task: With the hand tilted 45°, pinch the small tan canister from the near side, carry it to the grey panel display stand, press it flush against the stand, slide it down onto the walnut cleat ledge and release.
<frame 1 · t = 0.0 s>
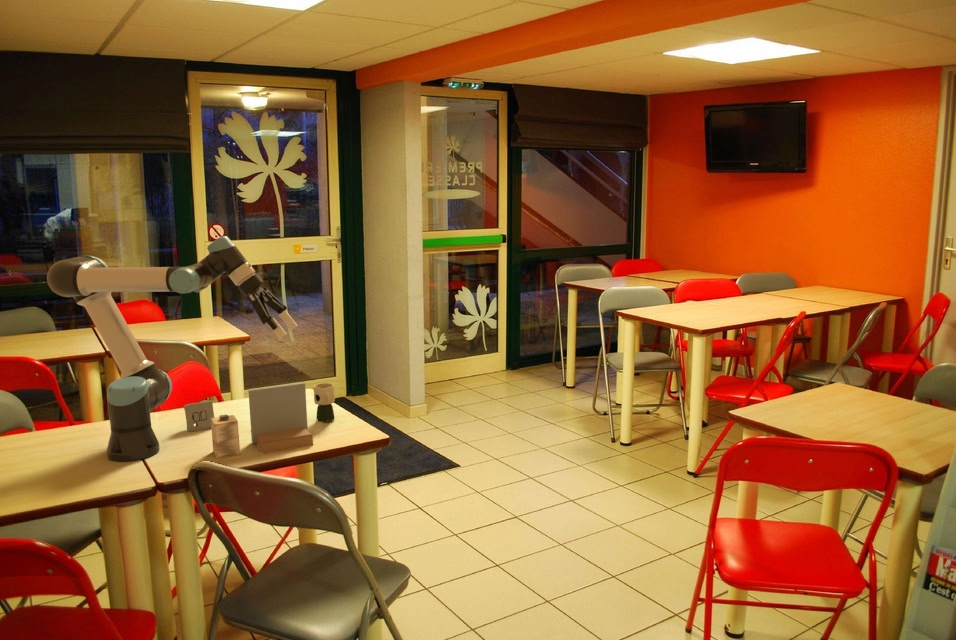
hand: (288, 332, 251), 36 cm above the table, tool tilted 35°, fingers open, 13 cm apart
character mug: (325, 421, 276), on the table
electrical switch: (199, 428, 269), on the table
tan canister: (226, 453, 245), on the table
grey panel display stand: (284, 444, 252), on the table
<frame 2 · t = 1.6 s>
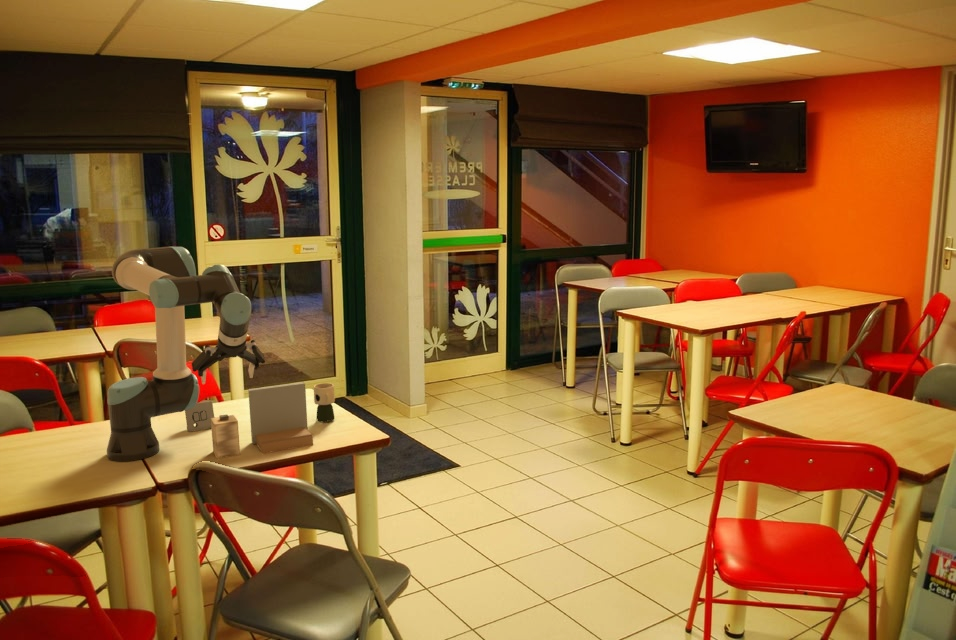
hand: (226, 377, 231), 27 cm above the table, tool tilted 45°, fingers open, 13 cm apart
nothing on the table moved.
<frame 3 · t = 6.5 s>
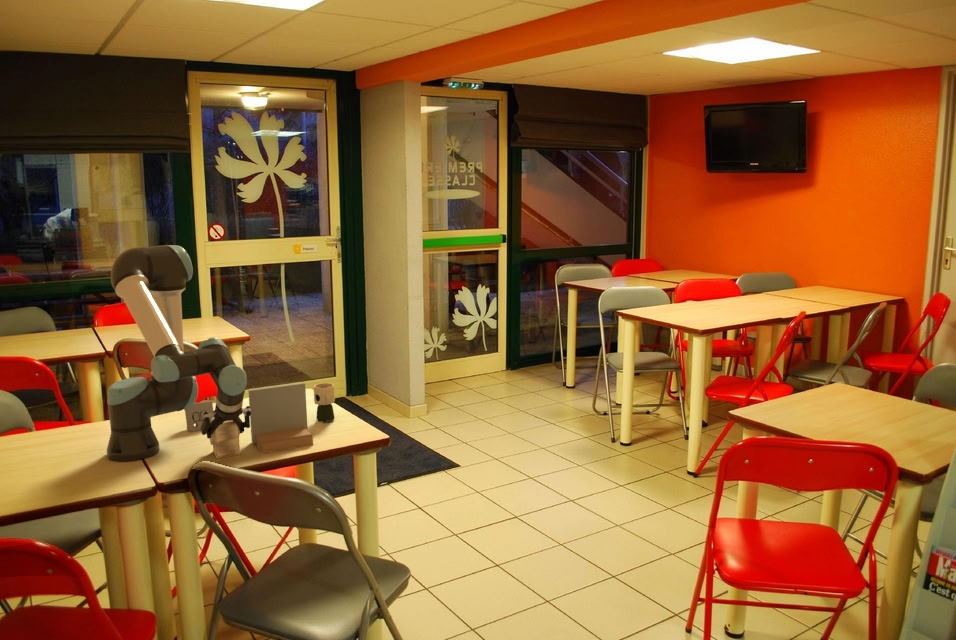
hand: (223, 438, 247), 4 cm above the table, tool tilted 45°, fingers closed on tan canister, 7 cm apart
tan canister: (226, 452, 245), on the table, touching gripper
everything else where it was.
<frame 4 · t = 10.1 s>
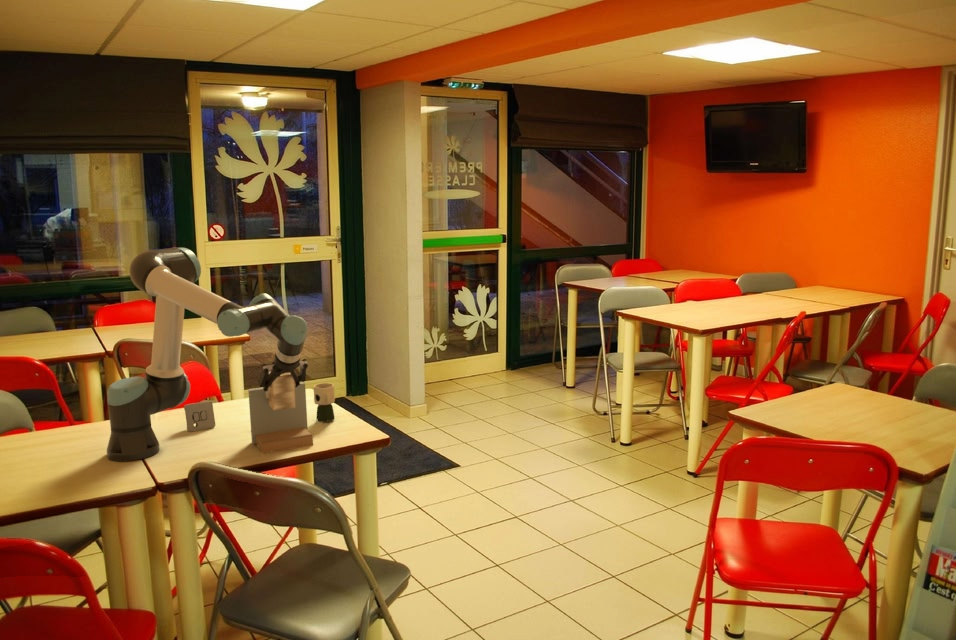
hand: (279, 392, 252), 16 cm above the table, tool tilted 45°, fingers closed on tan canister, grey panel display stand, 7 cm apart
tan canister: (282, 406, 250), point 13 cm above the table, touching gripper
everything else where it was.
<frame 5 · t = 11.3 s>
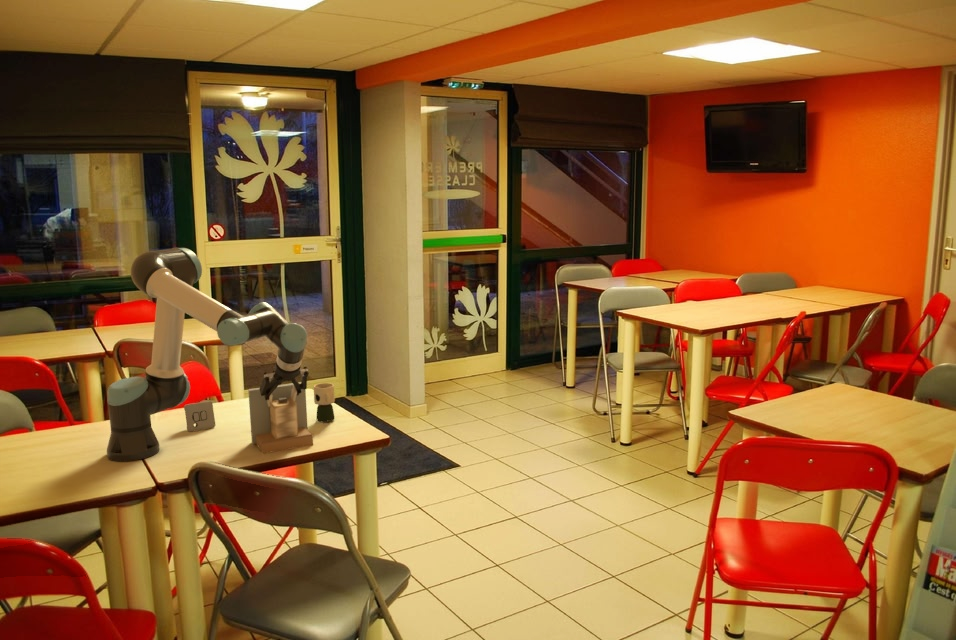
hand: (280, 401, 253), 13 cm above the table, tool tilted 45°, fingers open, 7 cm apart
tan canister: (284, 434, 252), point 3 cm above the table, touching gripper, grey panel display stand
everything else where it was.
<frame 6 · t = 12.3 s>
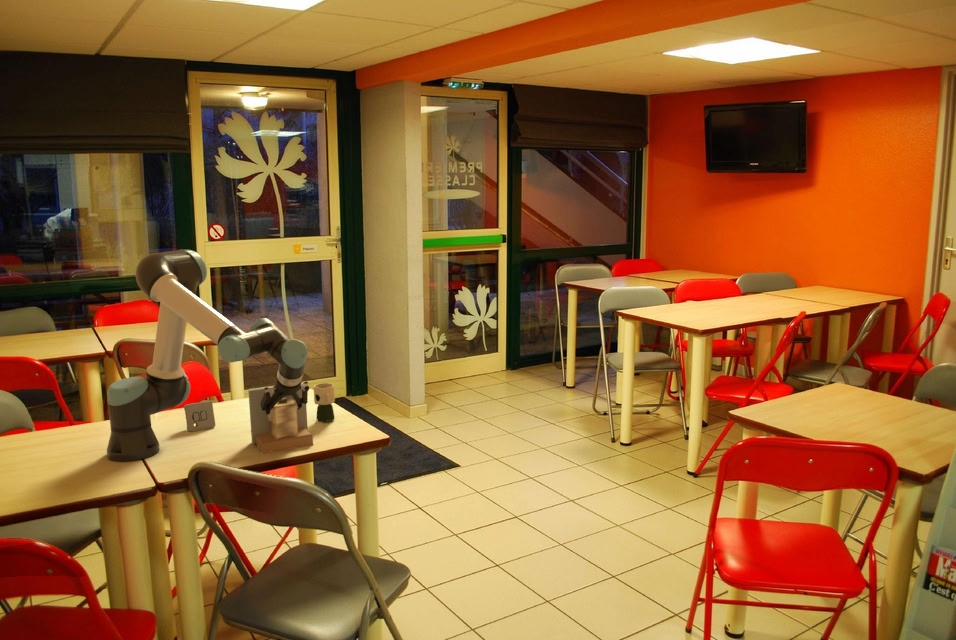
hand: (281, 415, 254), 9 cm above the table, tool tilted 45°, fingers closed on tan canister, 7 cm apart
tan canister: (284, 434, 252), point 3 cm above the table, touching gripper, grey panel display stand
everything else where it was.
when the fingers open (8 cm above the table, at t = 12.7 s): tan canister stays where it is, resting on grey panel display stand.
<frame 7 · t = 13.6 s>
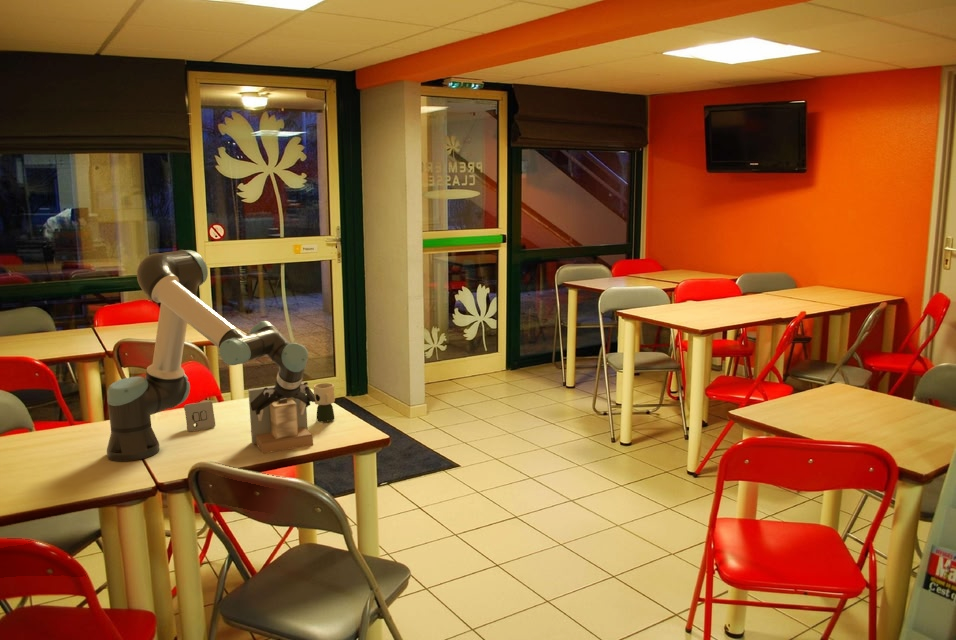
hand: (280, 414, 253), 9 cm above the table, tool tilted 45°, fingers open, 13 cm apart
tan canister: (284, 434, 252), point 3 cm above the table, touching grey panel display stand
everything else where it was.
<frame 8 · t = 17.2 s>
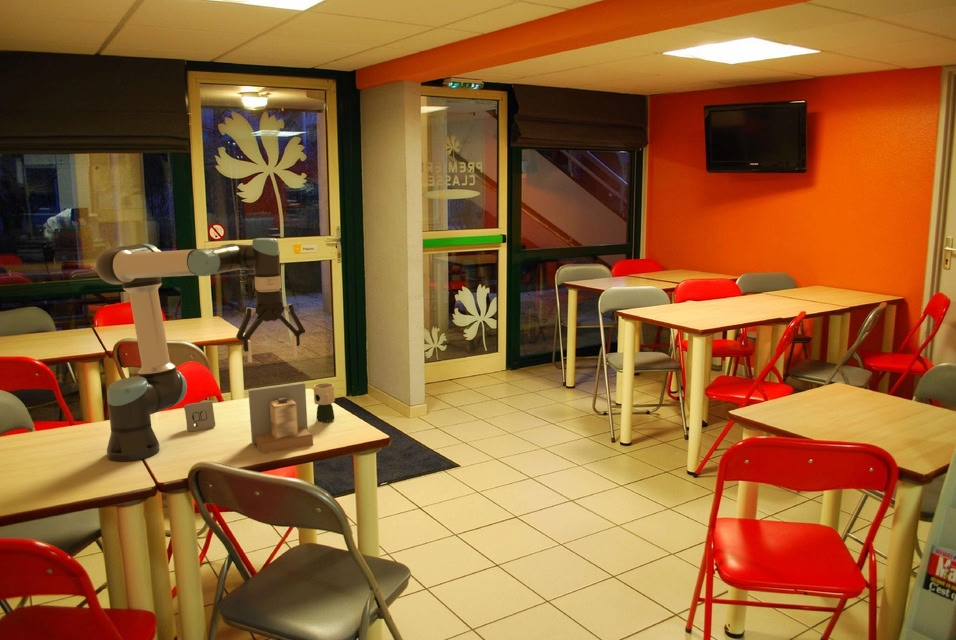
hand: (272, 359, 237), 31 cm above the table, tool pointing down, fingers open, 13 cm apart
nothing on the table moved.
at the end: tan canister inside the target area (0.5 cm from its centre), point 3.0 cm above the table; tan canister tilted 0°; the gripper is holding nothing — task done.
